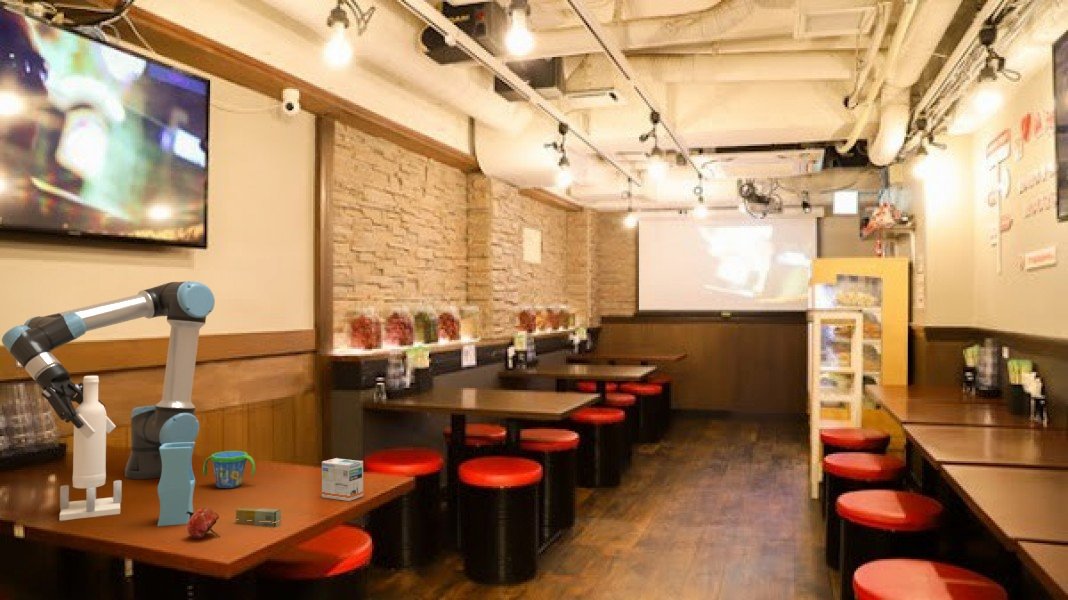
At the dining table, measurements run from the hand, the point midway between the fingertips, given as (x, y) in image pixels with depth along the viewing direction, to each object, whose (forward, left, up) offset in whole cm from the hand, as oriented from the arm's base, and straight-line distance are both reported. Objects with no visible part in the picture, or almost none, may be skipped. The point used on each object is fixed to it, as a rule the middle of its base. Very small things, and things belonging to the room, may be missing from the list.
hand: (101, 432), depth 206 cm
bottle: (+3, -2, -15) cm, 15 cm away
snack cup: (-35, -14, -22) cm, 43 cm away
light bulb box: (-63, +15, -22) cm, 68 cm away
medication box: (-36, +32, -22) cm, 53 cm away
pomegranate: (-23, +37, -22) cm, 49 cm away
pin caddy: (+2, -2, -22) cm, 22 cm away
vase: (-18, +19, -22) cm, 34 cm away
